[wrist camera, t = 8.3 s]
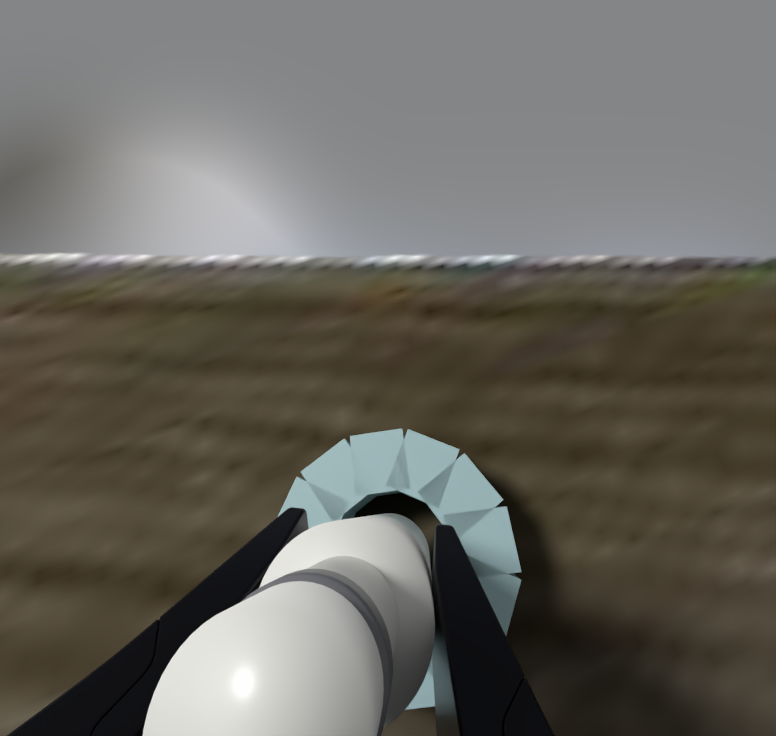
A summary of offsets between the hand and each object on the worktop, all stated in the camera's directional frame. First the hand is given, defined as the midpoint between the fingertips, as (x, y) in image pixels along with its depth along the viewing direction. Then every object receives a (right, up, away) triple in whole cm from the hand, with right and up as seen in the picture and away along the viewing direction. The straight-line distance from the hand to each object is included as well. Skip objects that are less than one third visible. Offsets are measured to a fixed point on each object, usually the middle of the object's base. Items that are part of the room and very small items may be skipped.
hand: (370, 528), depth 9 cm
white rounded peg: (+1, -4, +6) cm, 7 cm away
